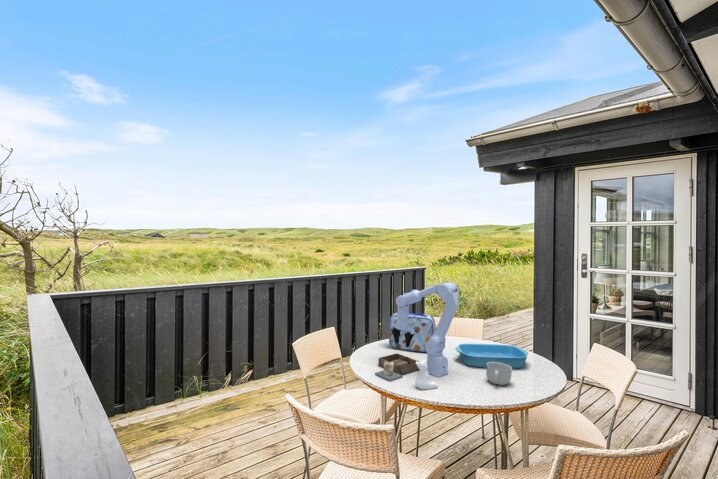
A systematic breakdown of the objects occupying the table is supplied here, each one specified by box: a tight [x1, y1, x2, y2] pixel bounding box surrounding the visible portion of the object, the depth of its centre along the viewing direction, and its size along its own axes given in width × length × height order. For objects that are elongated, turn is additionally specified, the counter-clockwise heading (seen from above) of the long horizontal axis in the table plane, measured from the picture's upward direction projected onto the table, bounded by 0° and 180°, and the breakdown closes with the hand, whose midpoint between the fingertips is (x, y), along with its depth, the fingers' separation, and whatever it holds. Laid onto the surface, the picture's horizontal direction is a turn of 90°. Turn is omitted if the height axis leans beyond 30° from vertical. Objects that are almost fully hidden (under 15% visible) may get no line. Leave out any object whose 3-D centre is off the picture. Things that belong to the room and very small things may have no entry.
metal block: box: [383, 362, 394, 376], centre depth 172 cm, size 4×4×5 cm
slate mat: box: [374, 369, 403, 383], centre depth 172 cm, size 10×8×1 cm
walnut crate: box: [378, 352, 420, 376], centre depth 183 cm, size 16×13×4 cm
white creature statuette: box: [415, 359, 439, 391], centre depth 160 cm, size 10×9×12 cm
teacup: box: [485, 362, 513, 386], centre depth 166 cm, size 14×11×8 cm
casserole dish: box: [454, 343, 529, 369], centre depth 195 cm, size 37×22×7 cm, turn 88°
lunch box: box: [388, 311, 437, 353], centre depth 214 cm, size 28×10×22 cm, turn 73°
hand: (402, 345), depth 190 cm, fingers open, 7 cm apart
